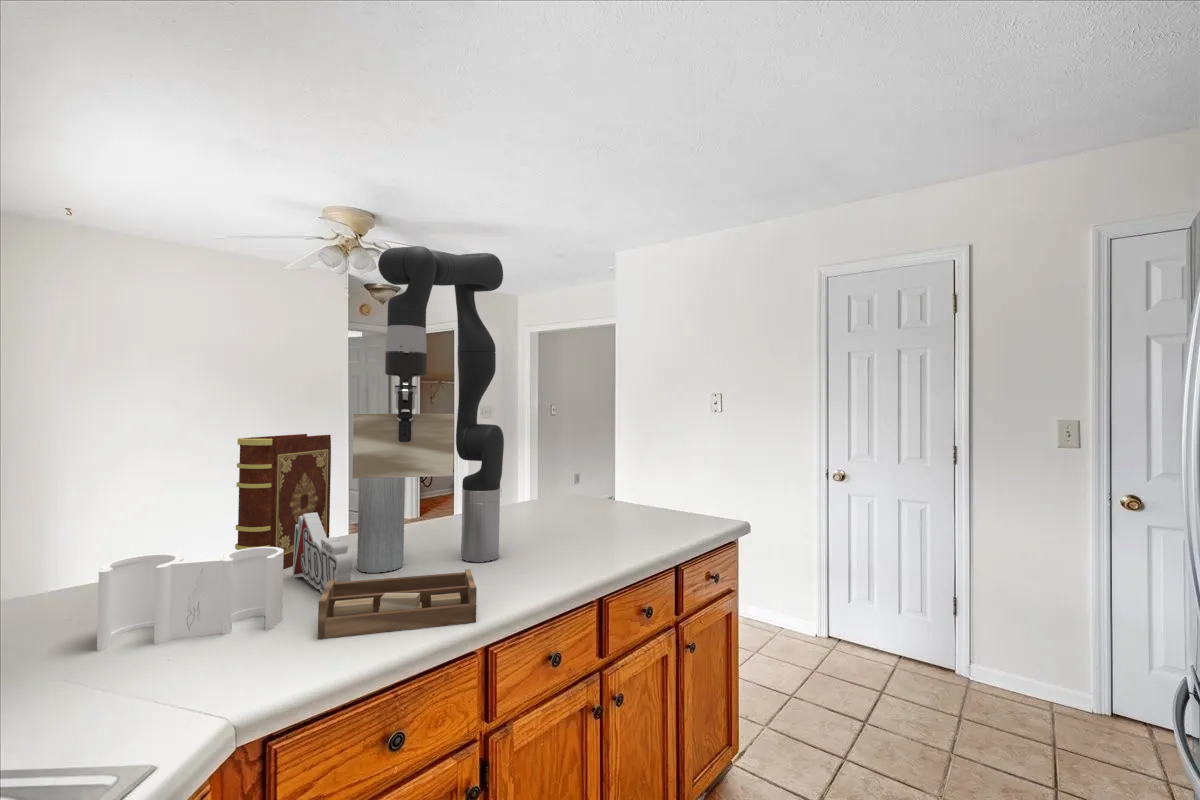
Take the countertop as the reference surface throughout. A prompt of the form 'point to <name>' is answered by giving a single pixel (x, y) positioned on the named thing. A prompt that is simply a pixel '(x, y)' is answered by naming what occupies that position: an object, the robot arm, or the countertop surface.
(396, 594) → the upper offcut
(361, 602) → the offcut
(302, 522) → the decorative sign
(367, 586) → the rack
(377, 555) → the vase
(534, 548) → the countertop surface
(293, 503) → the decorative book
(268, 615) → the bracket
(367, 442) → the sheet
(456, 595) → the offcut
